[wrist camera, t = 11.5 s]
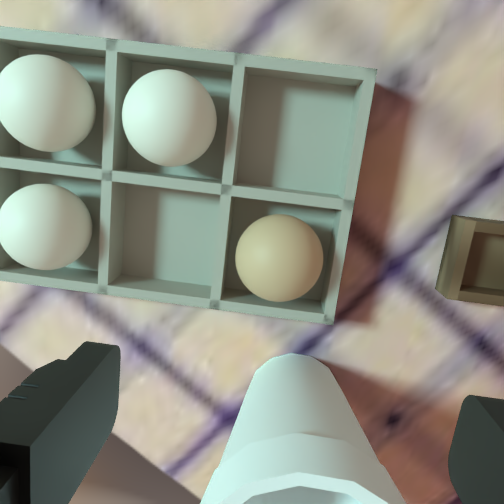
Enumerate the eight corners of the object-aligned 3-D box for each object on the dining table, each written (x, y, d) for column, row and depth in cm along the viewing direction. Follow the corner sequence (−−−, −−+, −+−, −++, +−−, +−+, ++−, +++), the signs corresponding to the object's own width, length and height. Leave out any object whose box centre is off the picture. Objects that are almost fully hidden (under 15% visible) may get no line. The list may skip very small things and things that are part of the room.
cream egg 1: (28, 60, 25) (-32, 38, 20) (111, 69, 25) (71, 49, 20) (28, 146, 26) (-28, 145, 22) (108, 156, 26) (69, 157, 21)
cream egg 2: (28, 176, 27) (-27, 181, 22) (107, 186, 27) (68, 193, 22) (29, 253, 28) (-24, 274, 23) (104, 263, 28) (67, 286, 23)
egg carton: (14, 38, 26) (-20, 23, 23) (365, 78, 25) (377, 69, 22) (17, 266, 29) (-13, 278, 26) (327, 307, 28) (332, 324, 25)
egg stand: (452, 214, 26) (465, 219, 24) (530, 224, 26) (551, 230, 24) (435, 288, 27) (447, 298, 26) (510, 298, 27) (528, 309, 25)
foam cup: (287, 475, 31) (293, 695, 19) (199, 390, 30) (142, 561, 18) (390, 400, 29) (474, 586, 17) (300, 305, 28) (318, 428, 16)
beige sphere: (244, 203, 26) (235, 216, 22) (325, 213, 26) (335, 228, 21) (235, 280, 28) (225, 308, 23) (312, 291, 27) (319, 321, 23)
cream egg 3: (141, 73, 25) (108, 54, 20) (226, 83, 25) (213, 66, 20) (137, 160, 26) (104, 162, 21) (217, 170, 26) (203, 174, 21)
